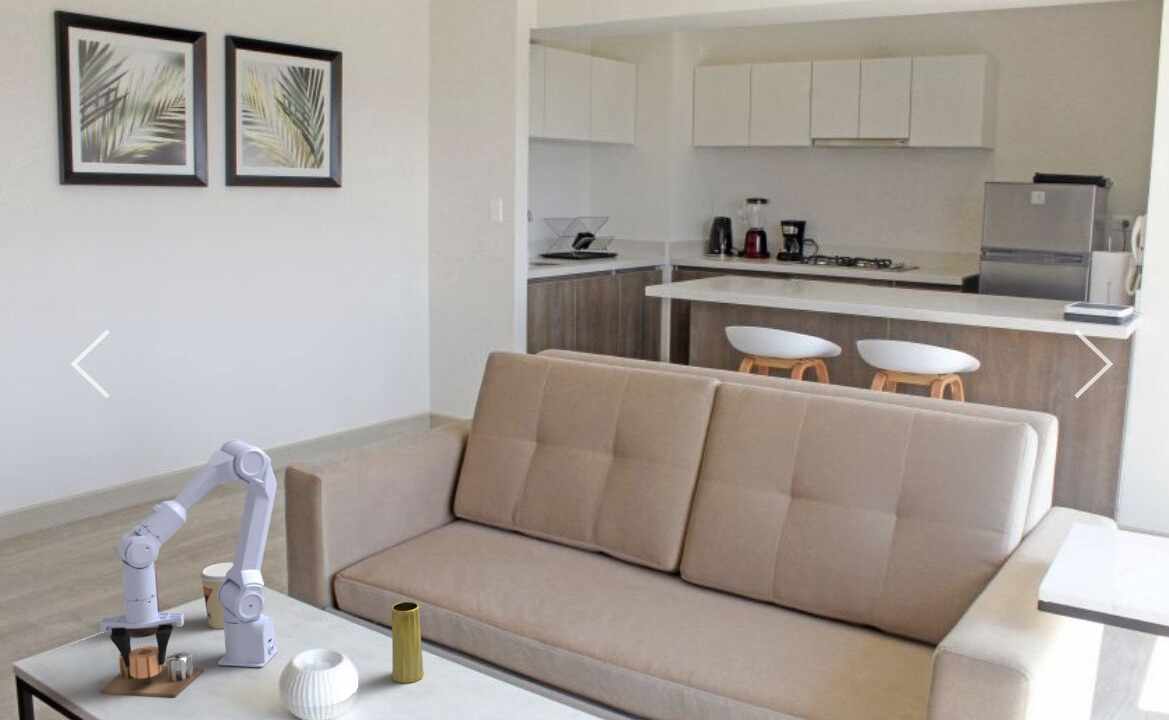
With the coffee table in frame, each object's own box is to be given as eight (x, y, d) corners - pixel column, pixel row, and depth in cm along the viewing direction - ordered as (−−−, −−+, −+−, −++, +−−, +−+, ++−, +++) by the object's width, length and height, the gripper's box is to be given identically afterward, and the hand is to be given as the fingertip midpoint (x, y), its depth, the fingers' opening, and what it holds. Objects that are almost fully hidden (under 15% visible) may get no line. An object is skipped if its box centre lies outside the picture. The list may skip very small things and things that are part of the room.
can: (140, 640, 226) (135, 576, 223) (124, 632, 229) (118, 569, 227) (166, 630, 230) (162, 568, 228) (150, 623, 234) (145, 561, 232)
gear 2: (197, 671, 210) (195, 650, 209) (185, 682, 205) (184, 660, 204) (175, 670, 210) (173, 649, 209) (162, 680, 206) (161, 659, 205)
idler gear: (164, 664, 207) (162, 644, 207) (158, 677, 202) (156, 656, 201) (134, 666, 206) (133, 647, 206) (127, 679, 201) (126, 659, 201)
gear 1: (150, 669, 211) (148, 648, 210) (137, 680, 206) (136, 658, 205) (128, 668, 211) (126, 647, 210) (115, 678, 207) (113, 657, 206)
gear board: (203, 671, 211) (202, 652, 210) (175, 697, 200) (173, 678, 200) (132, 667, 213) (130, 649, 212) (100, 693, 202) (98, 673, 202)
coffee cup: (206, 615, 238) (203, 563, 236) (250, 611, 240) (247, 560, 238) (202, 632, 229) (198, 578, 227) (248, 628, 231) (244, 574, 230)
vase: (397, 686, 204) (394, 614, 202) (387, 673, 209) (384, 603, 207) (428, 679, 207) (425, 608, 204) (417, 666, 212) (415, 597, 210)
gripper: (185, 585, 207) (189, 651, 209) (105, 590, 204) (110, 657, 207) (177, 598, 200) (182, 667, 202) (94, 604, 198) (100, 674, 200)
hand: (145, 663), depth 204 cm, fingers closed on idler gear, 5 cm apart
